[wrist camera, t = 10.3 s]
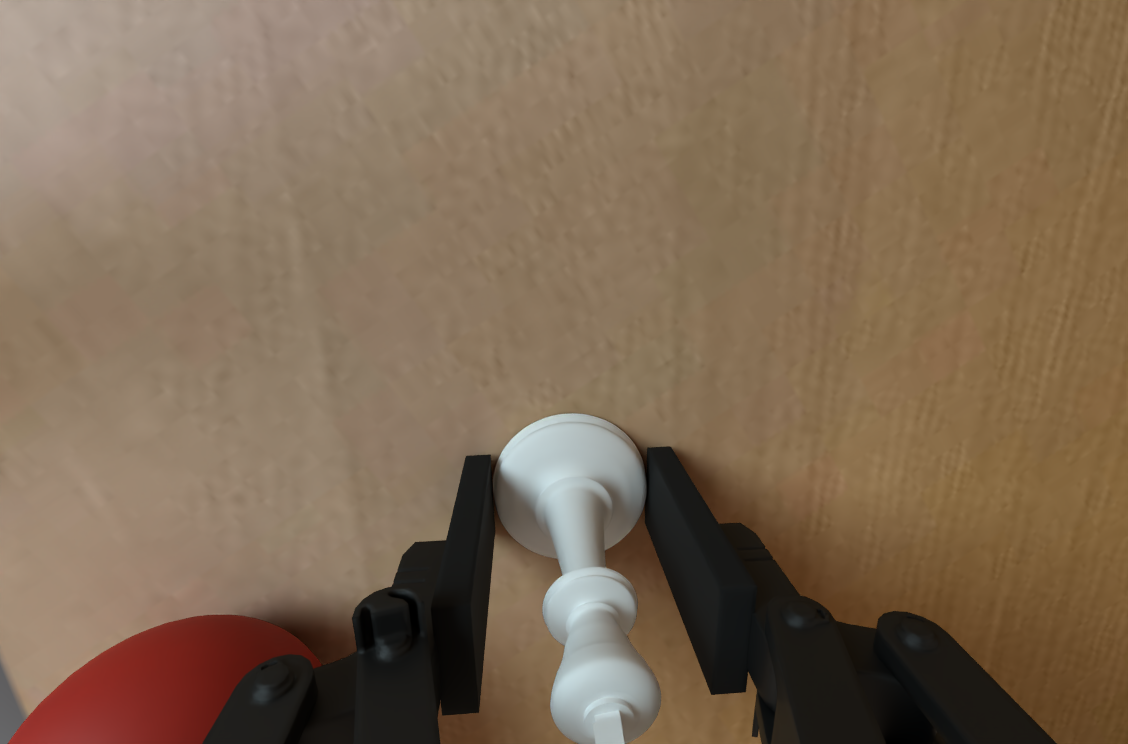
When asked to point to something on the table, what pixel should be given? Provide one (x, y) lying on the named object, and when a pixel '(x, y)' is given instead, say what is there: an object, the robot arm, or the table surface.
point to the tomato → (158, 683)
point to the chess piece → (583, 566)
